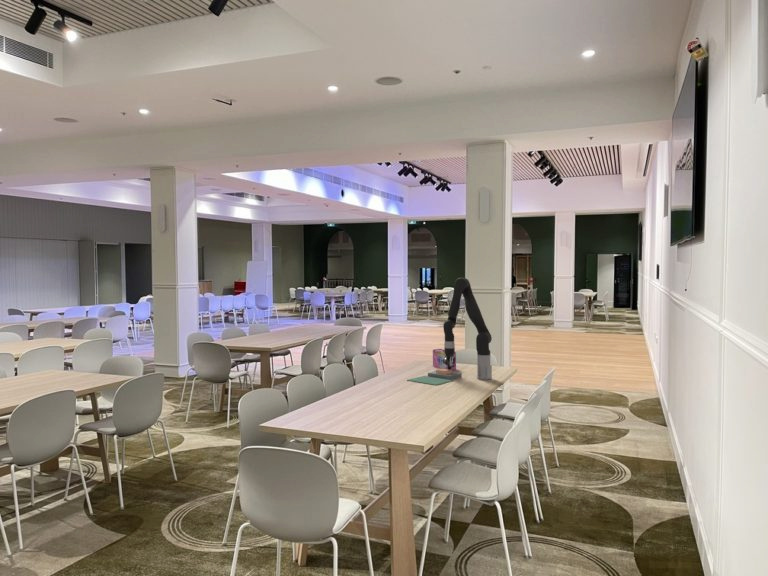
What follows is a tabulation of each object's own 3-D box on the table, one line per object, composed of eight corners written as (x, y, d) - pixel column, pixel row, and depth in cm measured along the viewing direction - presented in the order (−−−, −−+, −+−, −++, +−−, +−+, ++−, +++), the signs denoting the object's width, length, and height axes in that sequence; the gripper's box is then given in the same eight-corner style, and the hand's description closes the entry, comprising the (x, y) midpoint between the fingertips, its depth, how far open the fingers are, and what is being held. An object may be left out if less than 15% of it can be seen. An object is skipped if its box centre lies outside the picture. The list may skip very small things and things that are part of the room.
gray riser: (461, 377, 411) (461, 373, 411) (450, 380, 401) (450, 376, 401) (439, 374, 425) (439, 370, 425) (427, 376, 414) (427, 372, 414)
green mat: (453, 380, 398) (453, 380, 398) (436, 385, 384) (436, 384, 384) (424, 376, 416) (424, 375, 416) (406, 380, 401) (406, 379, 401)
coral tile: (451, 373, 412) (451, 369, 411) (446, 374, 406) (446, 371, 406) (441, 371, 418) (441, 368, 417) (436, 373, 412) (435, 369, 412)
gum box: (457, 369, 443) (457, 352, 442) (449, 370, 439) (449, 353, 439) (440, 365, 464) (440, 348, 464) (432, 366, 460) (432, 349, 460)
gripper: (448, 348, 409) (448, 372, 410) (458, 346, 419) (459, 370, 420) (439, 347, 414) (440, 371, 415) (450, 345, 424) (450, 368, 425)
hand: (449, 370), depth 417 cm, fingers closed
